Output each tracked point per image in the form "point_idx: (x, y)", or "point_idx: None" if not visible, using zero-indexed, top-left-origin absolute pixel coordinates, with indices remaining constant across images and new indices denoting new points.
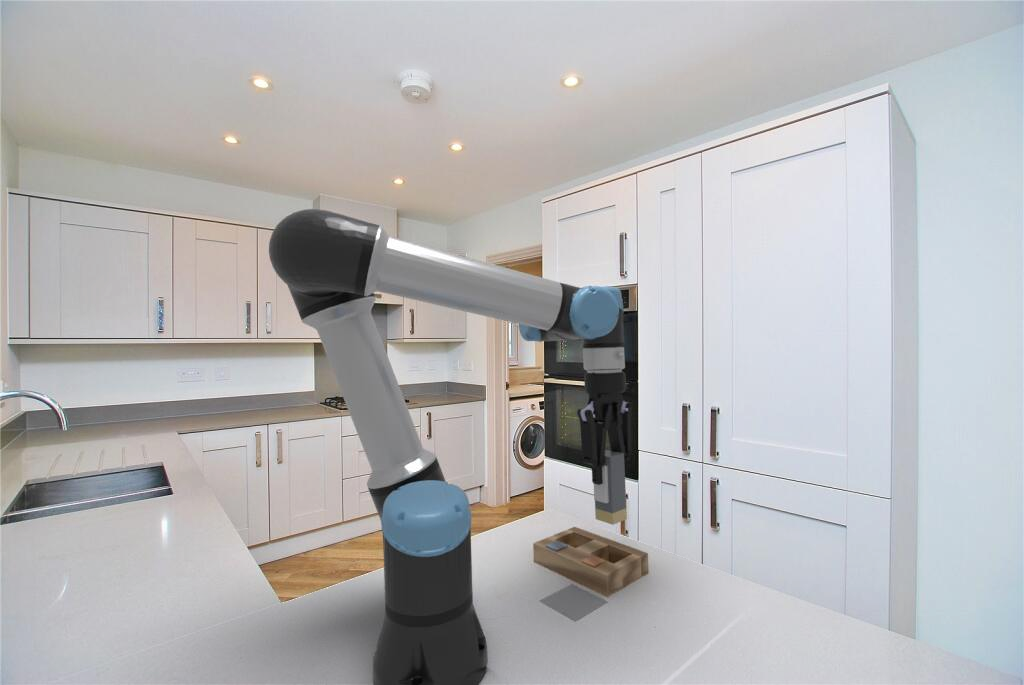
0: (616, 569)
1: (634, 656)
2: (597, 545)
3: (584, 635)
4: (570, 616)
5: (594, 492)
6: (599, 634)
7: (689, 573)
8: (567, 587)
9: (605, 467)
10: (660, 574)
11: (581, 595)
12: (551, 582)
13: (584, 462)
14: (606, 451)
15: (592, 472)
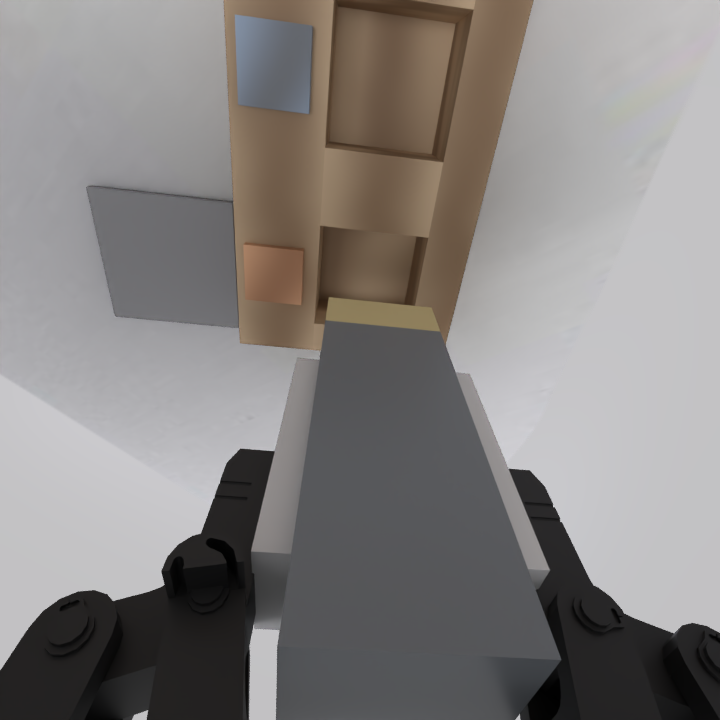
0: (288, 345)
1: (151, 428)
2: (399, 207)
3: (114, 343)
4: (117, 297)
5: (291, 386)
6: (143, 362)
7: (499, 389)
8: (205, 206)
9: (265, 621)
10: (457, 345)
11: (207, 263)
12: (205, 123)
13: (61, 611)
14: (492, 676)
15: (205, 523)
